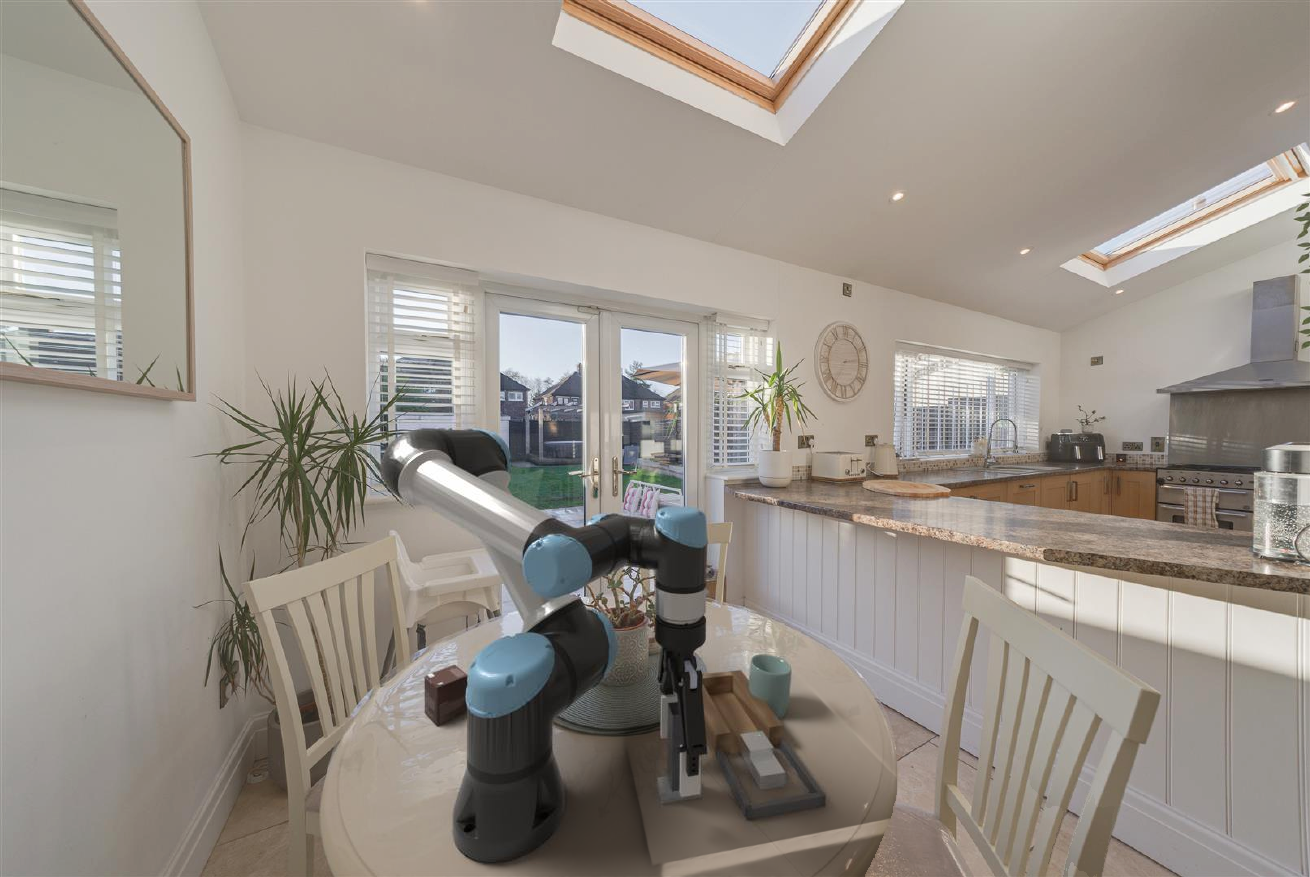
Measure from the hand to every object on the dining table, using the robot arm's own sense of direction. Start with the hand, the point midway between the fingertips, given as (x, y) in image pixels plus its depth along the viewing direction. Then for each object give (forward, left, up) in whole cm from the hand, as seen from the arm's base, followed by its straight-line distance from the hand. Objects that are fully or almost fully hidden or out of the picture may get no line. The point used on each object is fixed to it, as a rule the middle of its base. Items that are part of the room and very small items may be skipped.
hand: (678, 762), depth 66 cm
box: (-39, +29, -6) cm, 49 cm away
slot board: (+14, +15, -6) cm, 21 cm away
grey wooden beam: (0, 0, -6) cm, 6 cm away
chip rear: (+14, +4, -4) cm, 16 cm away
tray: (+14, -1, -6) cm, 15 cm away
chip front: (+14, 0, -5) cm, 15 cm away
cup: (+22, +16, -6) cm, 28 cm away
